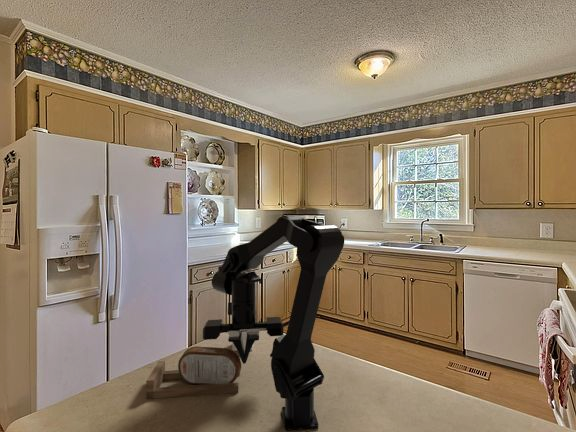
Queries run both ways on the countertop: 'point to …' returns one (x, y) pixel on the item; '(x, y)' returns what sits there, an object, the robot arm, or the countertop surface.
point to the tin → (209, 365)
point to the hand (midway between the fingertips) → (244, 362)
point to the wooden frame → (177, 391)
